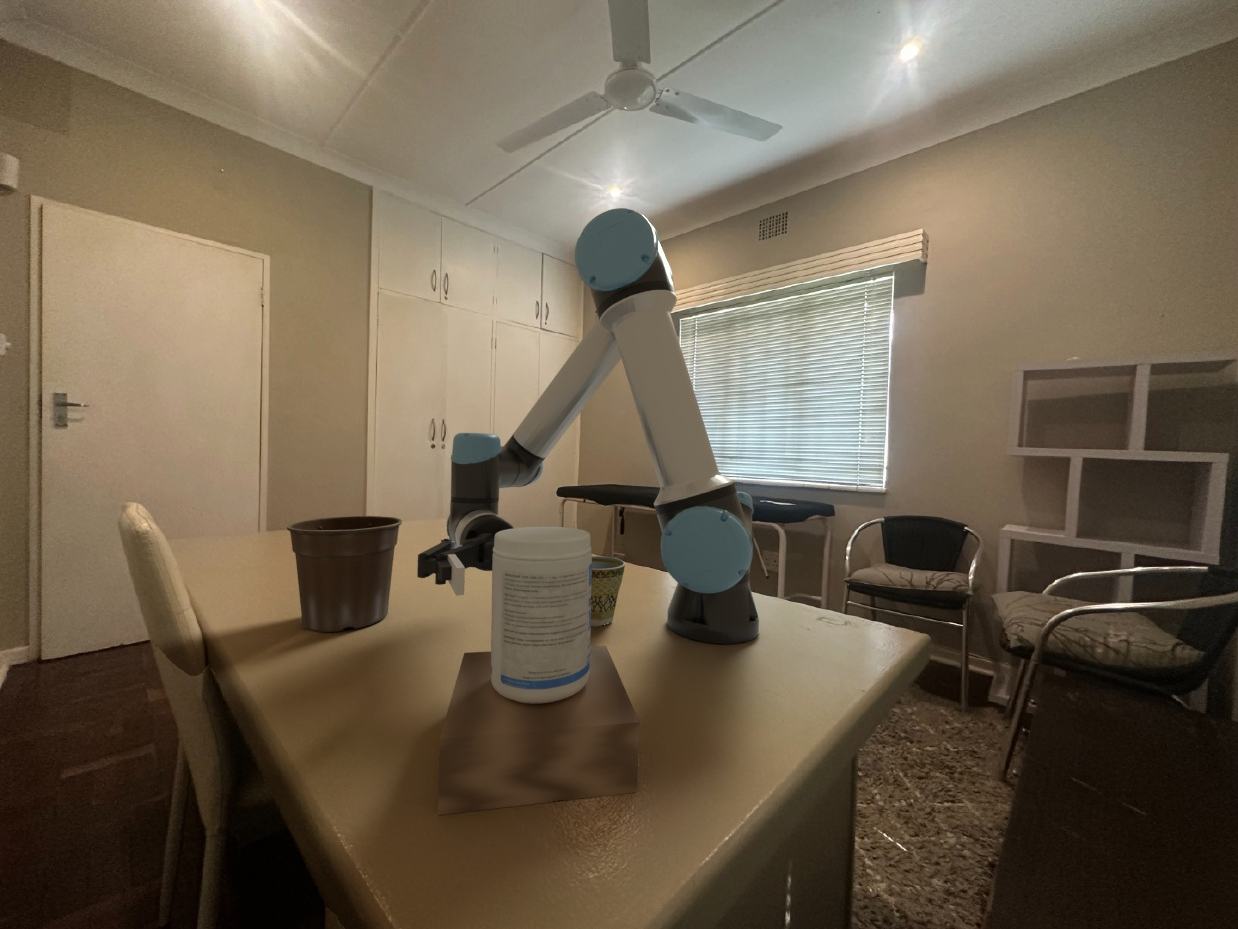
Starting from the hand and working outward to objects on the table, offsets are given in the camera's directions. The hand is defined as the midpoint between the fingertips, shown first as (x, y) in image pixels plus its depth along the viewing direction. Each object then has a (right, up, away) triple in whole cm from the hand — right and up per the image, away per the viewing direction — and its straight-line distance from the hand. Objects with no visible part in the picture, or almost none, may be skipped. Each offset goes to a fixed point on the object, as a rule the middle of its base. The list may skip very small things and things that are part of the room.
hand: (528, 575), depth 49 cm
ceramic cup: (+5, -15, +33) cm, 37 cm away
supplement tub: (+2, -10, -3) cm, 11 cm away
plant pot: (-36, -14, +28) cm, 47 cm away
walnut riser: (+2, -16, -3) cm, 16 cm away
